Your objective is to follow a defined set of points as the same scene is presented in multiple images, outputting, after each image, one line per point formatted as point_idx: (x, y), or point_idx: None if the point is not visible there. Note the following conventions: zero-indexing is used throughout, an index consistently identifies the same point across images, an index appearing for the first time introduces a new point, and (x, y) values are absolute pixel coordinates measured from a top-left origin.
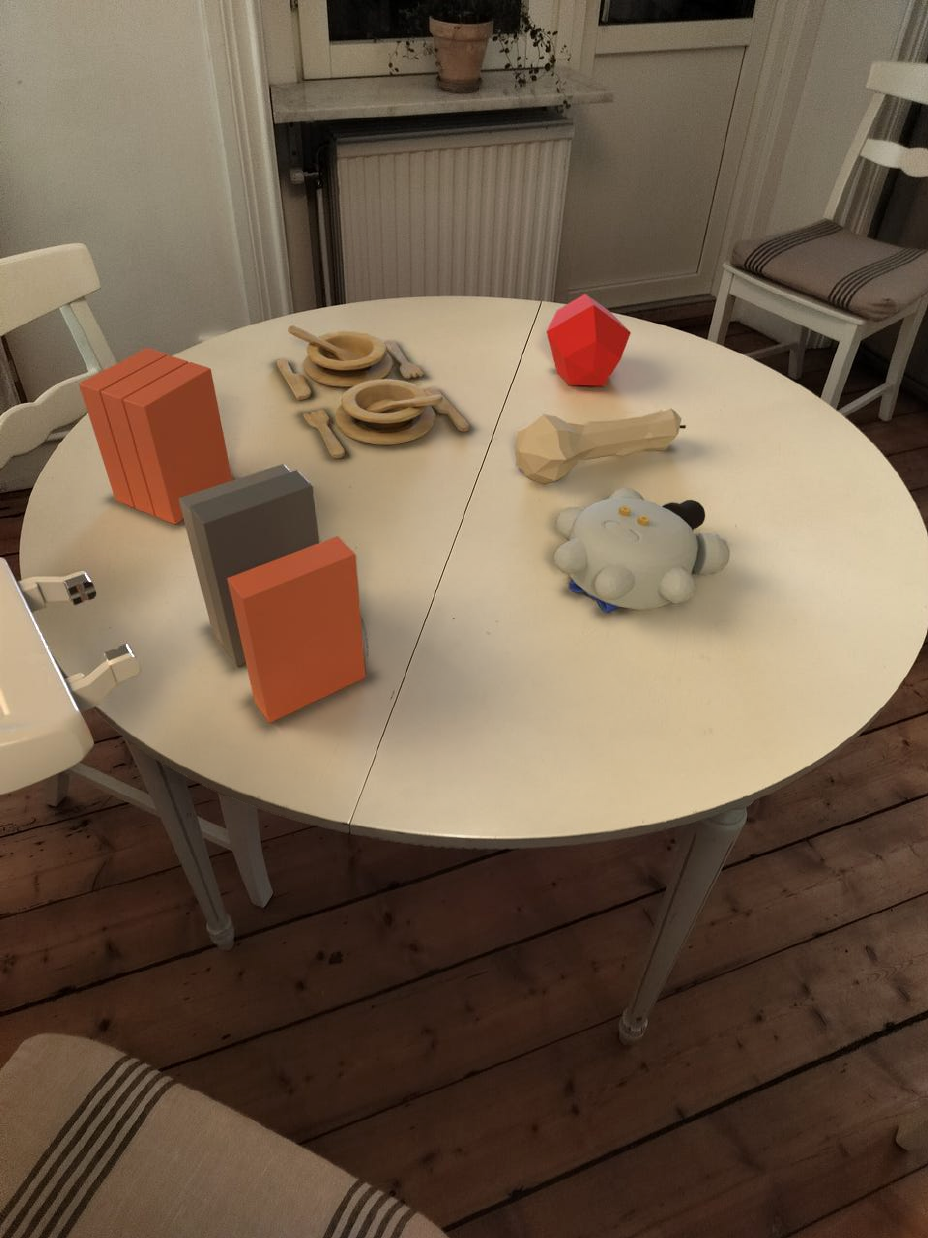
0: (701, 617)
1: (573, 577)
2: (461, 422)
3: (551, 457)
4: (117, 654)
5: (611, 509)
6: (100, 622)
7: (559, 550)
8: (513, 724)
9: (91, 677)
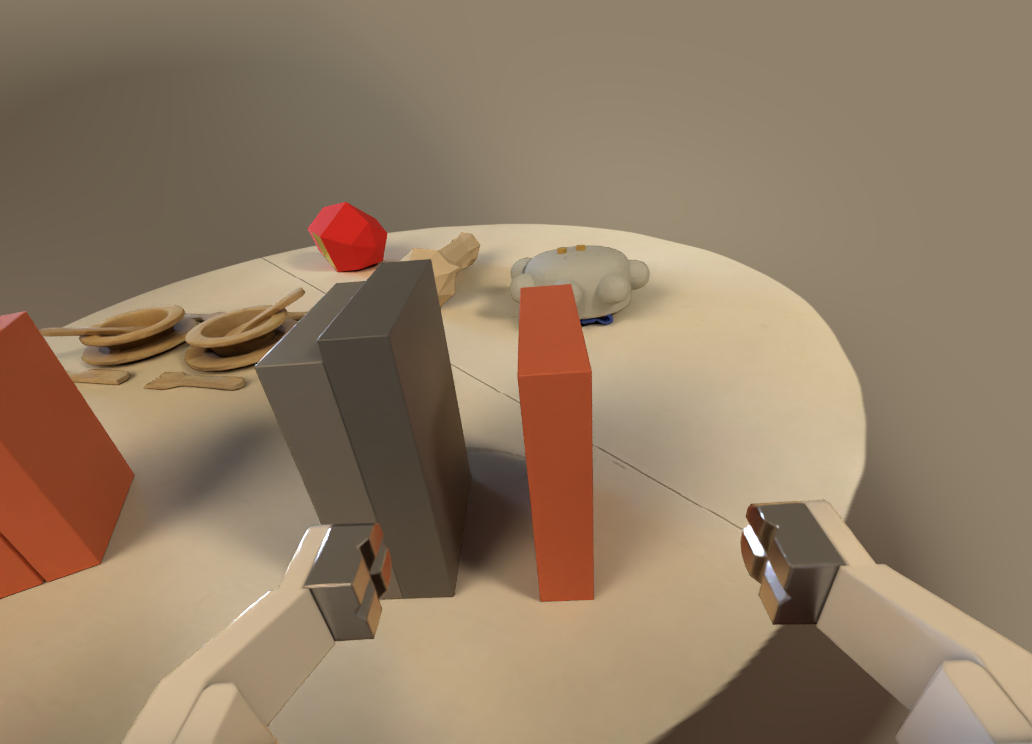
0: (645, 297)
1: None
2: None
3: (449, 271)
4: (811, 530)
5: (551, 255)
6: None
7: None
8: (710, 403)
9: (971, 635)
